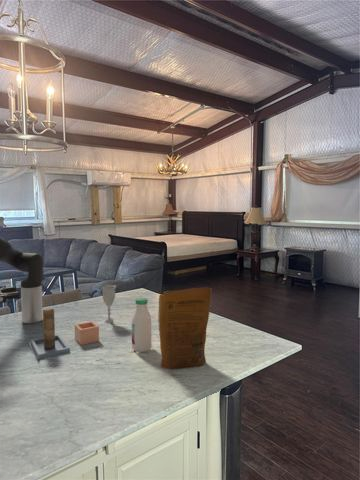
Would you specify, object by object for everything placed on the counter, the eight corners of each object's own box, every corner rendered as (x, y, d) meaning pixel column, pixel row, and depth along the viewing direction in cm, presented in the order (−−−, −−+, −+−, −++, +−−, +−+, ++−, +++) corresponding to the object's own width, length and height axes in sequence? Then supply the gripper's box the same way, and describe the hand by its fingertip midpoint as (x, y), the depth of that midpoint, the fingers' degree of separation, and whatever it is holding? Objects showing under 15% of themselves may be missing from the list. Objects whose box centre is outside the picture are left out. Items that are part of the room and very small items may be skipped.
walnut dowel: (43, 346, 127) (41, 309, 126) (53, 344, 130) (52, 307, 128) (45, 350, 124) (44, 311, 123) (56, 348, 126) (55, 310, 125)
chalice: (112, 326, 153) (112, 288, 151) (99, 325, 154) (98, 288, 153) (118, 321, 160) (118, 285, 158) (105, 320, 161) (105, 284, 160)
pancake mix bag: (213, 368, 113) (214, 288, 111) (158, 373, 110) (158, 291, 107) (207, 359, 120) (209, 284, 118) (156, 363, 116) (156, 286, 114)
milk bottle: (154, 346, 131) (154, 297, 129) (146, 354, 124) (146, 302, 122) (137, 343, 134) (137, 295, 132) (128, 351, 127) (127, 300, 125)
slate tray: (30, 346, 130) (30, 339, 130) (59, 340, 137) (59, 334, 136) (38, 361, 117) (38, 354, 117) (70, 354, 123) (69, 347, 123)
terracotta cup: (74, 340, 136) (74, 324, 135) (92, 337, 140) (92, 321, 140) (80, 347, 130) (80, 330, 129) (99, 343, 134) (98, 326, 133)
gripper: (-35, 293, 106) (20, 286, 115) (-36, 284, 118) (14, 278, 127) (-33, 315, 107) (21, 306, 116) (-34, 304, 119) (15, 297, 128)
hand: (17, 292), depth 122 cm, fingers open, 8 cm apart
